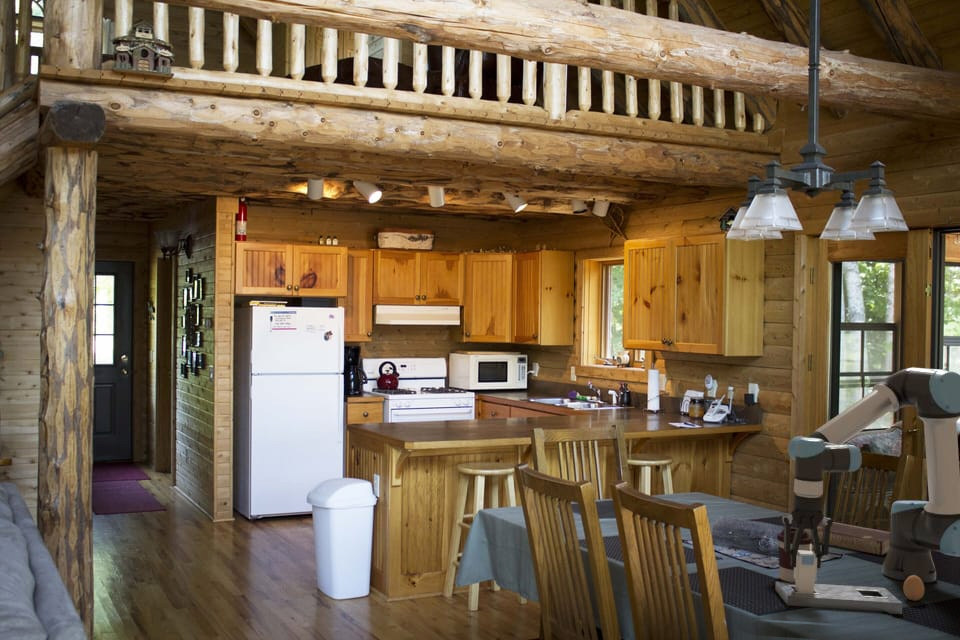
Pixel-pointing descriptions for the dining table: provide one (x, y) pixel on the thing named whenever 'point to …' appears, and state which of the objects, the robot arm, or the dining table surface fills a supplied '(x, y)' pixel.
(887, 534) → the hardback book
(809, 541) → the coffee cup
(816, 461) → the robot arm
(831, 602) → the panel
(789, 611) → the dining table surface
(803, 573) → the plug
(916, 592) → the egg
